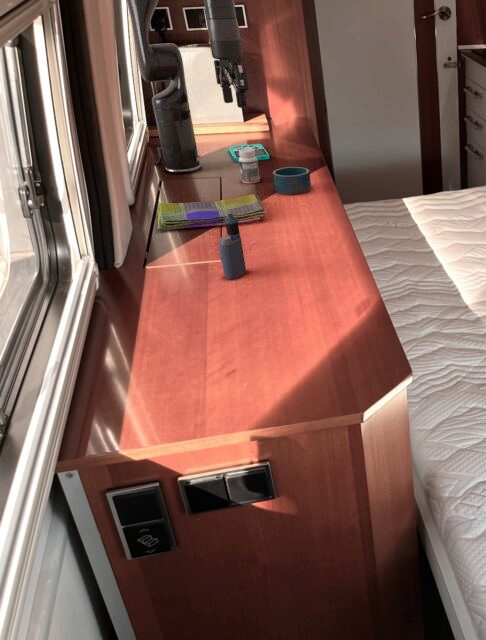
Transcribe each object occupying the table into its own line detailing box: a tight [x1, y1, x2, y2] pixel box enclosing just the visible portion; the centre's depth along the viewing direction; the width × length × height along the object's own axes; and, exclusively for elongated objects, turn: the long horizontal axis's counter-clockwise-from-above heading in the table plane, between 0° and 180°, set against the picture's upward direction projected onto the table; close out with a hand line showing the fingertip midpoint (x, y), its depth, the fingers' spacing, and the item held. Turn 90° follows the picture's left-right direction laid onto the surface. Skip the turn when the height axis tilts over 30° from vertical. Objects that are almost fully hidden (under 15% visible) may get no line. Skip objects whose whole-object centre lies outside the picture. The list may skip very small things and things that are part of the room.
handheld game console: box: [229, 143, 271, 163], centre depth 246 cm, size 10×16×1 cm, turn 24°
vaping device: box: [218, 214, 247, 280], centre depth 159 cm, size 3×5×12 cm, turn 161°
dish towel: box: [157, 193, 268, 231], centre depth 194 cm, size 18×24×3 cm
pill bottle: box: [238, 149, 261, 184], centre depth 219 cm, size 5×5×8 cm
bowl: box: [272, 166, 312, 196], centre depth 213 cm, size 9×9×5 cm
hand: (235, 104), depth 211 cm, fingers open, 8 cm apart
